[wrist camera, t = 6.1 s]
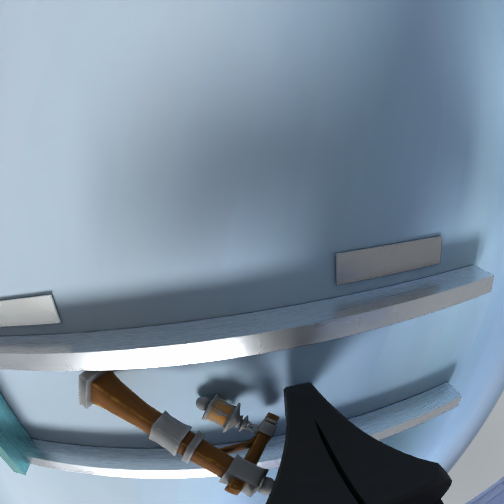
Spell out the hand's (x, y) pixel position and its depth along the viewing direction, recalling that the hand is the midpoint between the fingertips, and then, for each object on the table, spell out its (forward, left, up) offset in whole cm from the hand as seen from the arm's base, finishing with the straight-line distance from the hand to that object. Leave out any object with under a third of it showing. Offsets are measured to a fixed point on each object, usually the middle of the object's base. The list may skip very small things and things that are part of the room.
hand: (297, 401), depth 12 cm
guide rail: (0, +4, -1) cm, 4 cm away
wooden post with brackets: (+1, +5, -1) cm, 5 cm away
